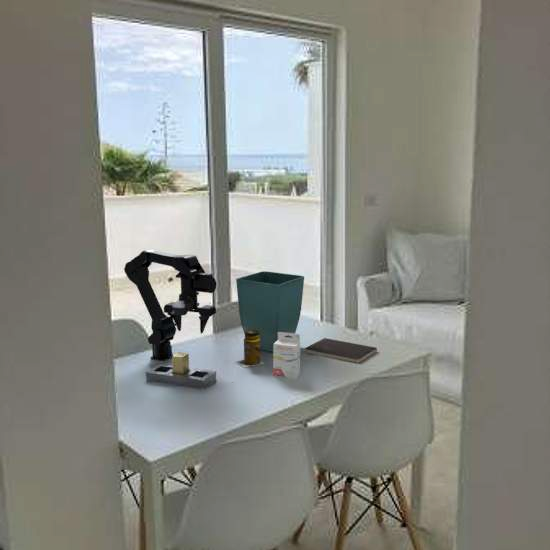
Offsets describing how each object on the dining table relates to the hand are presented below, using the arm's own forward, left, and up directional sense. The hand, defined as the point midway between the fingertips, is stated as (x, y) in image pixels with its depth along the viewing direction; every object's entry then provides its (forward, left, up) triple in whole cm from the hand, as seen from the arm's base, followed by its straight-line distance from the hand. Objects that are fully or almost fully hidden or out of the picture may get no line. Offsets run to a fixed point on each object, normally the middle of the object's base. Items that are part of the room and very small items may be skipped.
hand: (190, 332), depth 215 cm
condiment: (+20, +8, -12) cm, 25 cm away
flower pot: (+20, +29, -12) cm, 37 cm away
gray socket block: (+5, -16, -12) cm, 21 cm away
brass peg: (+5, -16, -12) cm, 21 cm away
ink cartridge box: (+37, +1, -12) cm, 39 cm away
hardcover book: (+48, +32, -13) cm, 59 cm away
